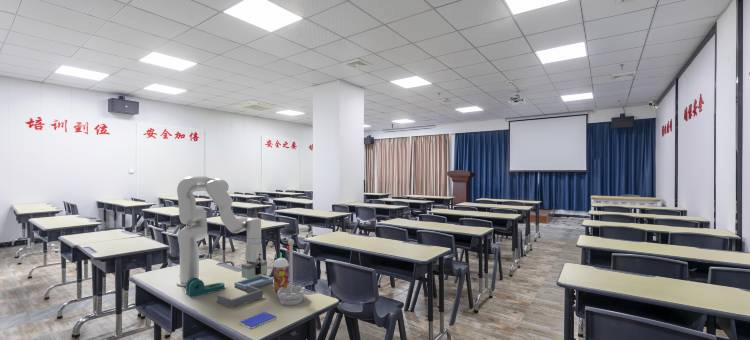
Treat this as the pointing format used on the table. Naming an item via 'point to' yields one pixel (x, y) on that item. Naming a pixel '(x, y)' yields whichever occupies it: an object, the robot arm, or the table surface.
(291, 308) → the table surface
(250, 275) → the gray rectangular block
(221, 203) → the robot arm
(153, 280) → the table surface
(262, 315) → the hard drive
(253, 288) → the bay
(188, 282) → the bracket
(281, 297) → the flag stand
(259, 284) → the tray
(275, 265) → the smoothie
